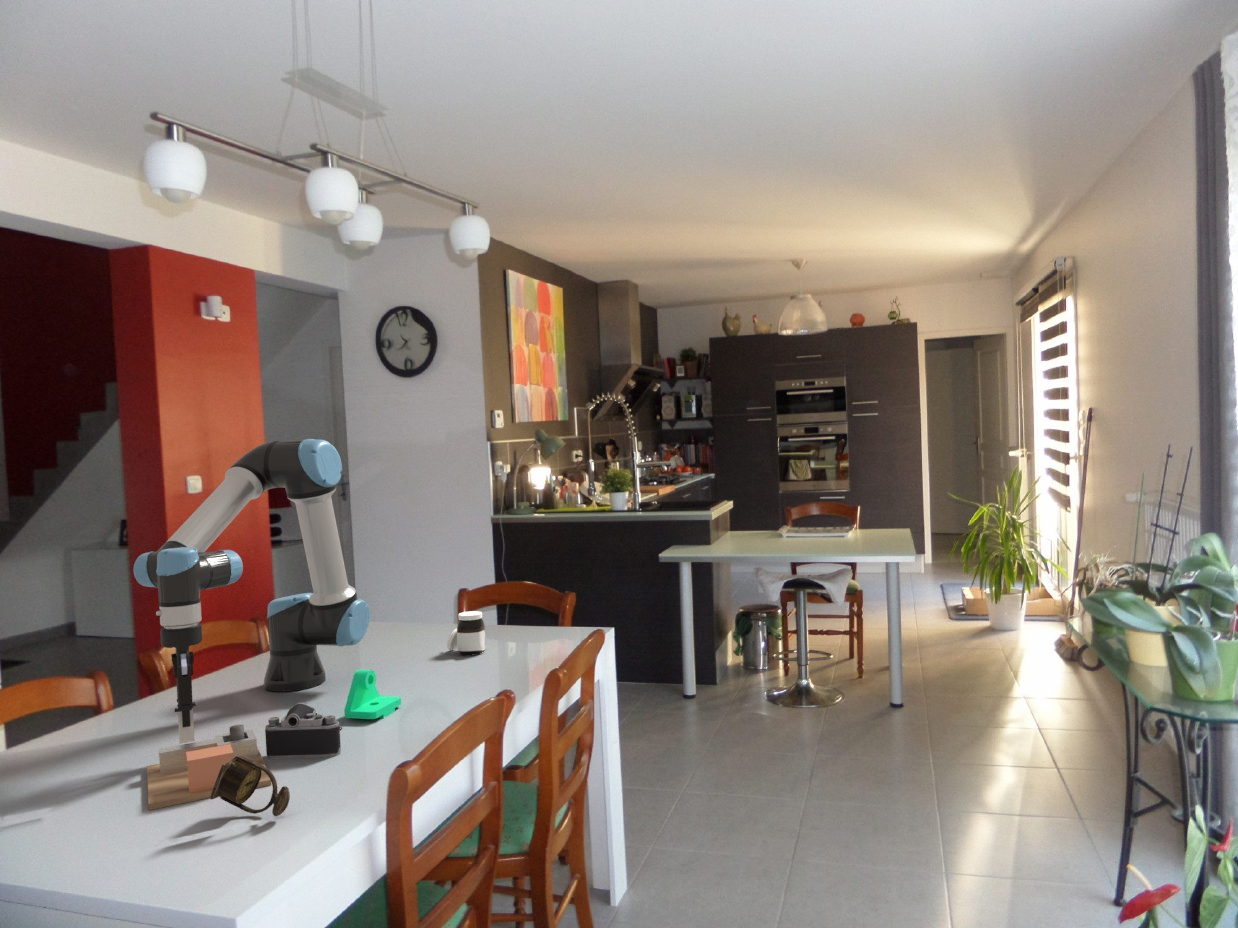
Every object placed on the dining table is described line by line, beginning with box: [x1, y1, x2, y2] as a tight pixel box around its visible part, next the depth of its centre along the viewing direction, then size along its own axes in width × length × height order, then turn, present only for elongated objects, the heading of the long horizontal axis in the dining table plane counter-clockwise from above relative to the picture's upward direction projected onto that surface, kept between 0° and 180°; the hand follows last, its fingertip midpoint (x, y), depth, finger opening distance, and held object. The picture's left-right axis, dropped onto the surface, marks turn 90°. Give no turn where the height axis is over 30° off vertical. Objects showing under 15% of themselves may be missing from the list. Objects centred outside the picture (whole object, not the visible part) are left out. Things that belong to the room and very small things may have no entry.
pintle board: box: [146, 724, 272, 811], centre depth 172 cm, size 22×20×7 cm
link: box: [158, 728, 258, 774], centre depth 178 cm, size 17×7×4 cm, turn 118°
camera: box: [264, 702, 343, 759], centre depth 185 cm, size 16×8×10 cm, turn 87°
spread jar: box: [446, 610, 487, 656], centre depth 264 cm, size 12×11×12 cm
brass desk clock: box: [209, 755, 291, 817], centre depth 154 cm, size 7×13×10 cm, turn 95°
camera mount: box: [344, 669, 402, 720], centre depth 208 cm, size 12×8×10 cm, turn 162°
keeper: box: [186, 744, 234, 793], centre depth 166 cm, size 6×8×6 cm
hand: (186, 741), depth 184 cm, fingers closed
